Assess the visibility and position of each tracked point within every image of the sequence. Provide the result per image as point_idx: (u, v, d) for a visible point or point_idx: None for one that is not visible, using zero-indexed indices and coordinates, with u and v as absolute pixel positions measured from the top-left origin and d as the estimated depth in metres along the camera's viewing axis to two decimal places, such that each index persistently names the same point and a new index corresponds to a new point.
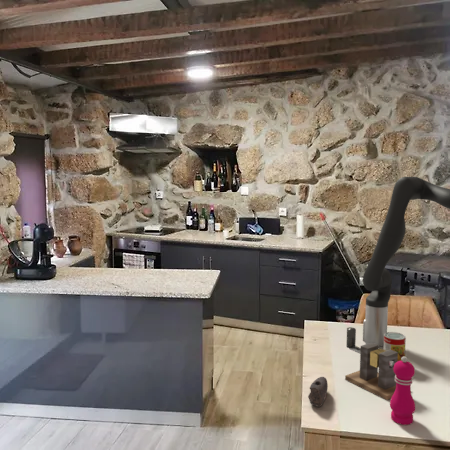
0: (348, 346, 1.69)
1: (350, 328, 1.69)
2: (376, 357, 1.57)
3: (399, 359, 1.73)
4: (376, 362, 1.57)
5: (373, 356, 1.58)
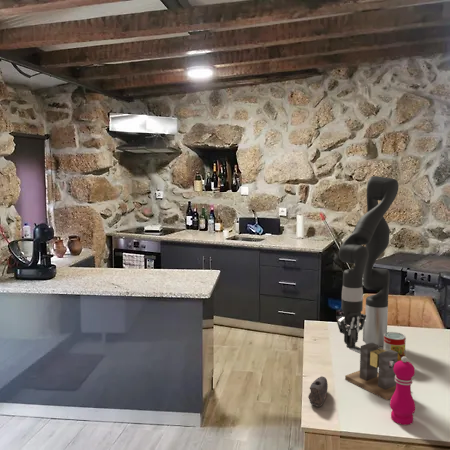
0: (348, 346, 1.69)
1: None
2: (376, 357, 1.57)
3: (399, 359, 1.73)
4: (376, 362, 1.57)
5: (373, 356, 1.58)
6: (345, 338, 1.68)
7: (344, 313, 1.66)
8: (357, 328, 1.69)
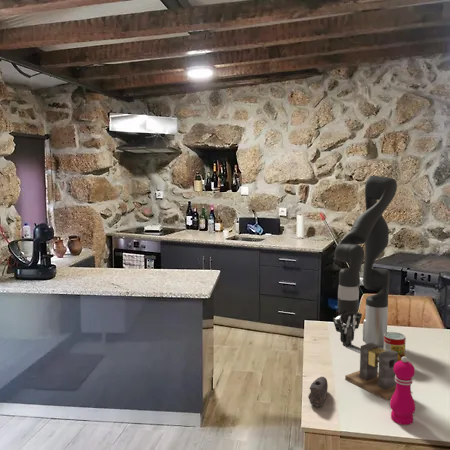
0: (344, 344, 1.70)
1: None
2: (374, 356, 1.58)
3: (399, 359, 1.73)
4: (374, 361, 1.58)
5: (371, 355, 1.59)
6: (341, 336, 1.69)
7: (340, 312, 1.68)
8: (353, 327, 1.71)
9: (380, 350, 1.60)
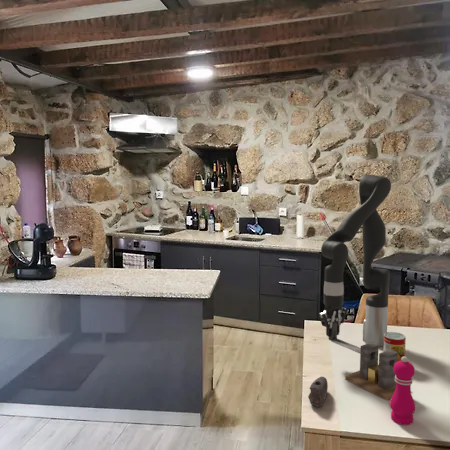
0: (330, 338, 1.76)
1: None
2: (374, 373, 1.58)
3: (399, 359, 1.73)
4: (374, 378, 1.58)
5: (371, 372, 1.59)
6: (327, 331, 1.75)
7: (326, 307, 1.74)
8: (338, 321, 1.77)
9: None
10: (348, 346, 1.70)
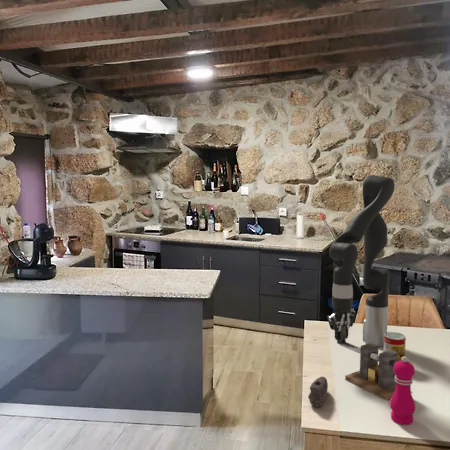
0: (339, 342, 1.72)
1: None
2: (374, 373, 1.58)
3: (399, 359, 1.73)
4: (374, 378, 1.58)
5: (371, 372, 1.59)
6: (335, 334, 1.72)
7: (334, 310, 1.70)
8: (347, 324, 1.73)
9: None
10: (357, 350, 1.66)
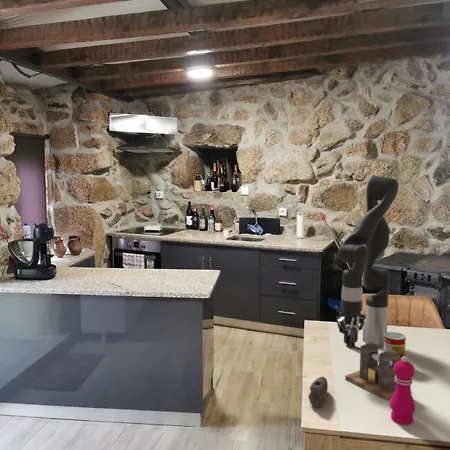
0: (348, 346, 1.69)
1: None
2: (374, 373, 1.58)
3: (399, 359, 1.73)
4: (374, 378, 1.58)
5: (371, 372, 1.59)
6: (345, 338, 1.68)
7: (344, 313, 1.66)
8: (357, 328, 1.69)
9: None
10: None
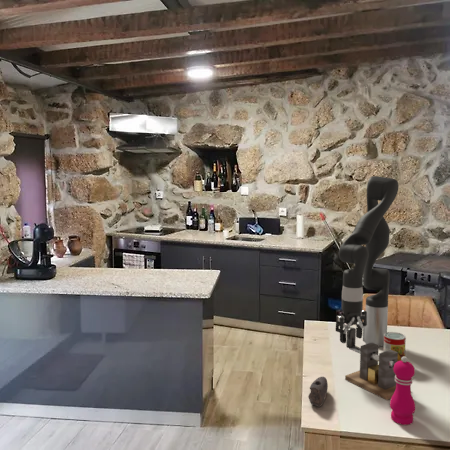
0: (348, 346, 1.69)
1: (350, 328, 1.69)
2: (374, 373, 1.58)
3: (399, 359, 1.73)
4: (374, 378, 1.58)
5: (371, 372, 1.59)
6: (341, 337, 1.66)
7: (344, 313, 1.66)
8: (361, 324, 1.70)
9: None
10: None
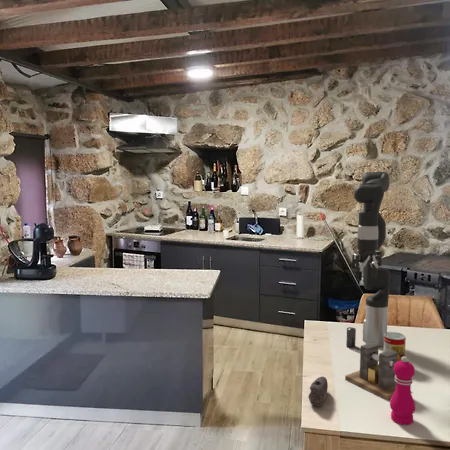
0: (348, 346, 1.69)
1: (350, 328, 1.69)
2: (374, 373, 1.58)
3: (399, 359, 1.73)
4: (374, 378, 1.58)
5: (371, 372, 1.59)
6: (357, 275, 1.71)
7: (360, 252, 1.71)
8: (376, 264, 1.75)
9: None
10: None
